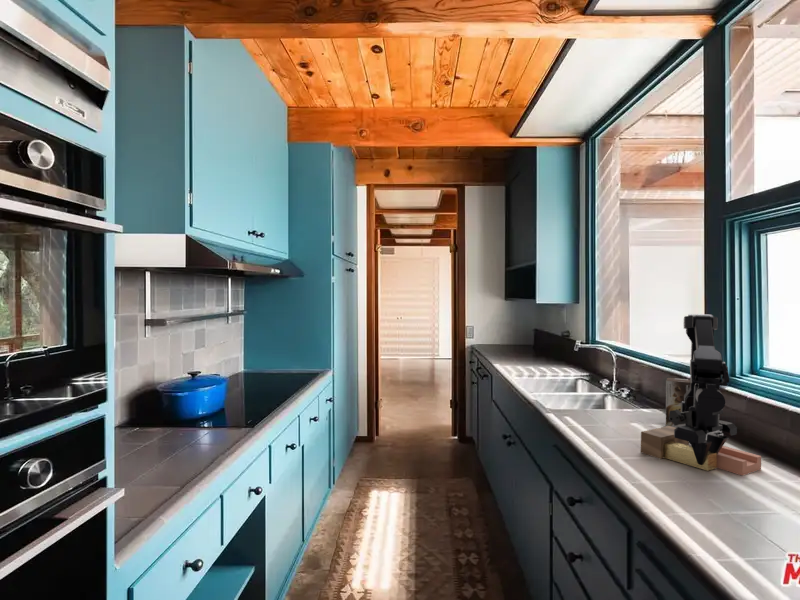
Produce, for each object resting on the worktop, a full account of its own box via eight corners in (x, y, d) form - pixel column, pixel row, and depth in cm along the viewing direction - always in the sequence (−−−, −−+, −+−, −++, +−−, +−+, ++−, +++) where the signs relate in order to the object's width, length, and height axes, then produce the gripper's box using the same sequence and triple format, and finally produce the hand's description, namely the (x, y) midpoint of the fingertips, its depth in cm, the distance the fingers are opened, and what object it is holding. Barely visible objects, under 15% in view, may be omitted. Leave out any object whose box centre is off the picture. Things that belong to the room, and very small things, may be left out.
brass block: (663, 457, 133) (663, 443, 133) (671, 455, 135) (671, 441, 135) (707, 470, 122) (707, 455, 122) (716, 468, 124) (716, 452, 124)
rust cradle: (712, 455, 135) (713, 443, 135) (761, 469, 125) (761, 456, 125) (694, 460, 131) (694, 447, 131) (742, 475, 120) (742, 461, 120)
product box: (696, 425, 165) (697, 379, 165) (695, 430, 160) (696, 382, 159) (666, 421, 170) (667, 376, 170) (664, 426, 165) (665, 379, 164)
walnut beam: (668, 445, 144) (668, 425, 143) (688, 451, 138) (688, 431, 138) (640, 452, 137) (641, 431, 137) (660, 458, 132) (661, 437, 132)
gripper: (695, 395, 136) (694, 449, 137) (655, 401, 127) (653, 459, 128) (738, 403, 126) (737, 461, 127) (697, 410, 118) (696, 473, 118)
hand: (705, 463), depth 125 cm, fingers closed on brass block, 4 cm apart
